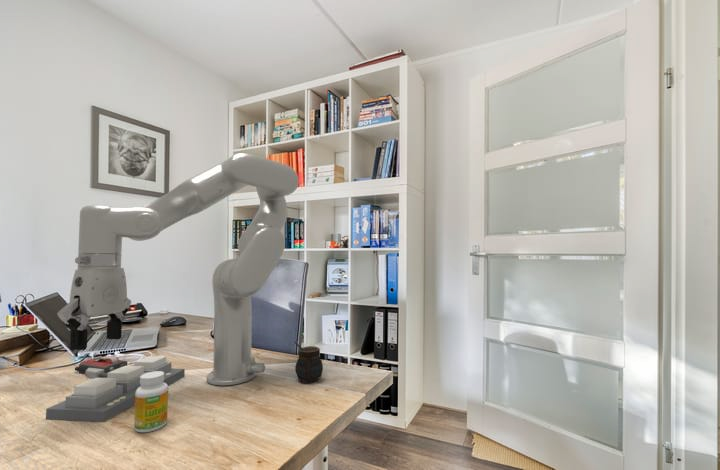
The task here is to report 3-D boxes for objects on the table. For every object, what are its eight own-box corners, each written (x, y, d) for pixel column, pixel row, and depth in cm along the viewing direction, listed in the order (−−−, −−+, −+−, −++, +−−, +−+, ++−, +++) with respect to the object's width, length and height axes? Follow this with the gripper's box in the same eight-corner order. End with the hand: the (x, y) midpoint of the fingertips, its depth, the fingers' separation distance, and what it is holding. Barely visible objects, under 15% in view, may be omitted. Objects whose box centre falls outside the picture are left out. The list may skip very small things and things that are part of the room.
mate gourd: (323, 384, 84) (323, 344, 85) (293, 386, 83) (293, 345, 84) (322, 374, 92) (322, 337, 92) (294, 376, 90) (294, 338, 91)
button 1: (166, 364, 90) (166, 356, 90) (152, 370, 85) (152, 362, 85) (148, 363, 90) (149, 356, 90) (134, 369, 85) (134, 361, 85)
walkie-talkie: (65, 376, 93) (117, 384, 87) (66, 360, 93) (117, 367, 87) (98, 366, 101) (148, 373, 95) (99, 351, 102) (148, 357, 95)
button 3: (115, 387, 74) (116, 378, 74) (95, 397, 69) (95, 387, 69) (95, 386, 74) (95, 377, 74) (73, 396, 69) (74, 386, 69)
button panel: (184, 376, 91) (184, 361, 91) (103, 422, 66) (104, 401, 66) (140, 374, 92) (141, 360, 93) (45, 418, 68) (46, 398, 68)
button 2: (143, 374, 82) (143, 366, 82) (126, 382, 77) (127, 373, 77) (124, 374, 82) (125, 365, 82) (107, 381, 77) (107, 372, 77)
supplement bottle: (142, 436, 61) (144, 381, 61) (128, 428, 64) (130, 376, 64) (172, 423, 65) (173, 372, 66) (158, 416, 68) (159, 368, 69)
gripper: (77, 263, 64) (73, 356, 63) (145, 261, 81) (143, 334, 80) (43, 263, 65) (38, 355, 64) (117, 261, 82) (115, 334, 81)
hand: (97, 343), depth 72 cm, fingers open, 7 cm apart
